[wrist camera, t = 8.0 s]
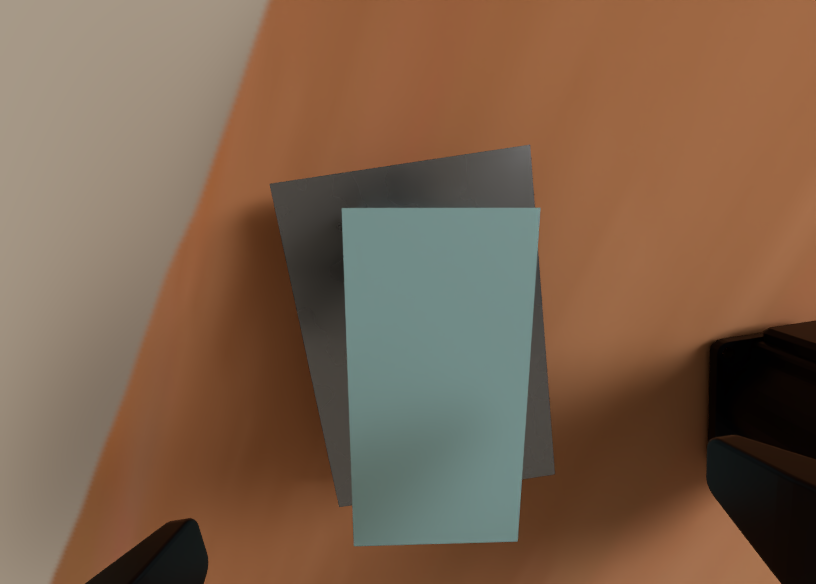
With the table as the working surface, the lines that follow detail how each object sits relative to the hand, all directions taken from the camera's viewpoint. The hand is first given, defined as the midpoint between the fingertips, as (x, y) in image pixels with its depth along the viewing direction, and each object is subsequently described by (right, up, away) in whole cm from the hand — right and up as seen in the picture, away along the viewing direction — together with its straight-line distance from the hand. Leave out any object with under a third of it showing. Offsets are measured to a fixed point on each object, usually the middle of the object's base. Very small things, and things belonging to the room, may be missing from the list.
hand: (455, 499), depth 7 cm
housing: (0, +2, +8) cm, 8 cm away
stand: (0, +2, +10) cm, 11 cm away
